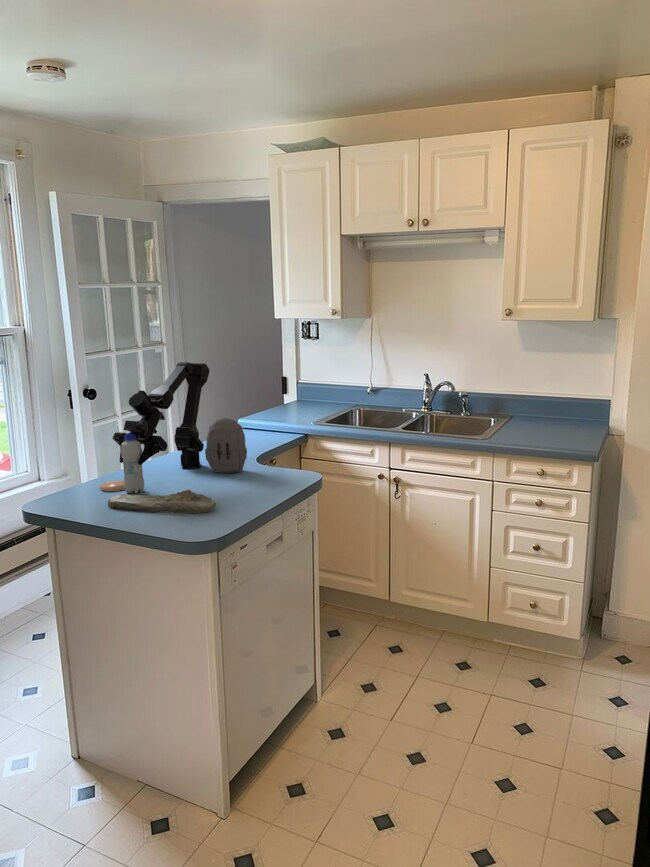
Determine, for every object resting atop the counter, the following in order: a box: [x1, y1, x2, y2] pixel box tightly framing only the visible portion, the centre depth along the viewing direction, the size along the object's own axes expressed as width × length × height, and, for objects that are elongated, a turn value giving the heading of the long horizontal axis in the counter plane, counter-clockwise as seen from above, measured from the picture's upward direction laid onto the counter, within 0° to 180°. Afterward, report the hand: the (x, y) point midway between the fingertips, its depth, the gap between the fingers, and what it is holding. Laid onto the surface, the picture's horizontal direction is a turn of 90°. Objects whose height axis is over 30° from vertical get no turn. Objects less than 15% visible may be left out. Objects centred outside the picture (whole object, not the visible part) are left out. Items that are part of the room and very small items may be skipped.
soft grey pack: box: [204, 417, 248, 474], centre depth 242 cm, size 15×8×20 cm, turn 84°
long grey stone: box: [107, 489, 217, 514], centre depth 207 cm, size 35×5×10 cm
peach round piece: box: [99, 479, 125, 492], centre depth 228 cm, size 10×10×1 cm
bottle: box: [121, 432, 145, 495], centre depth 221 cm, size 7×7×20 cm
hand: (129, 463), depth 220 cm, fingers open, 7 cm apart
